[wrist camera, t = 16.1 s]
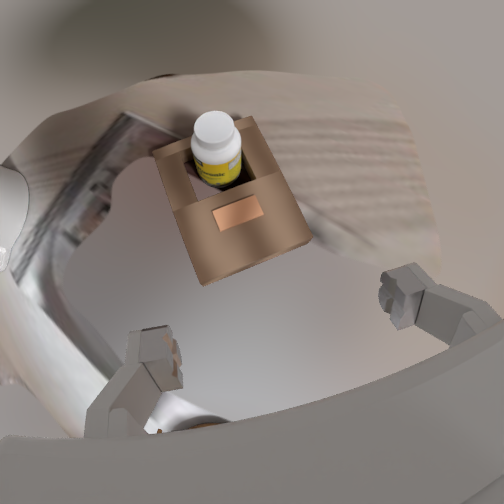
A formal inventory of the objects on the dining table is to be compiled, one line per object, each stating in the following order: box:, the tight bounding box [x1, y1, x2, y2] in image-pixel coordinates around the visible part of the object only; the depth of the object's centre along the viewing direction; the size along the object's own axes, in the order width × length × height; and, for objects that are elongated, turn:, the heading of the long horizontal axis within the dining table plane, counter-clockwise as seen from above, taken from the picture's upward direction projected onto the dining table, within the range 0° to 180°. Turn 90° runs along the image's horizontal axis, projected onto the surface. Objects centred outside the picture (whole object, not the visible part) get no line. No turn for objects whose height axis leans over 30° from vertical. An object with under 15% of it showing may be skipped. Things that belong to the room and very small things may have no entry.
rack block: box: [152, 116, 313, 286], centre depth 37 cm, size 13×17×3 cm
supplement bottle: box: [191, 111, 241, 188], centre depth 34 cm, size 5×5×10 cm
